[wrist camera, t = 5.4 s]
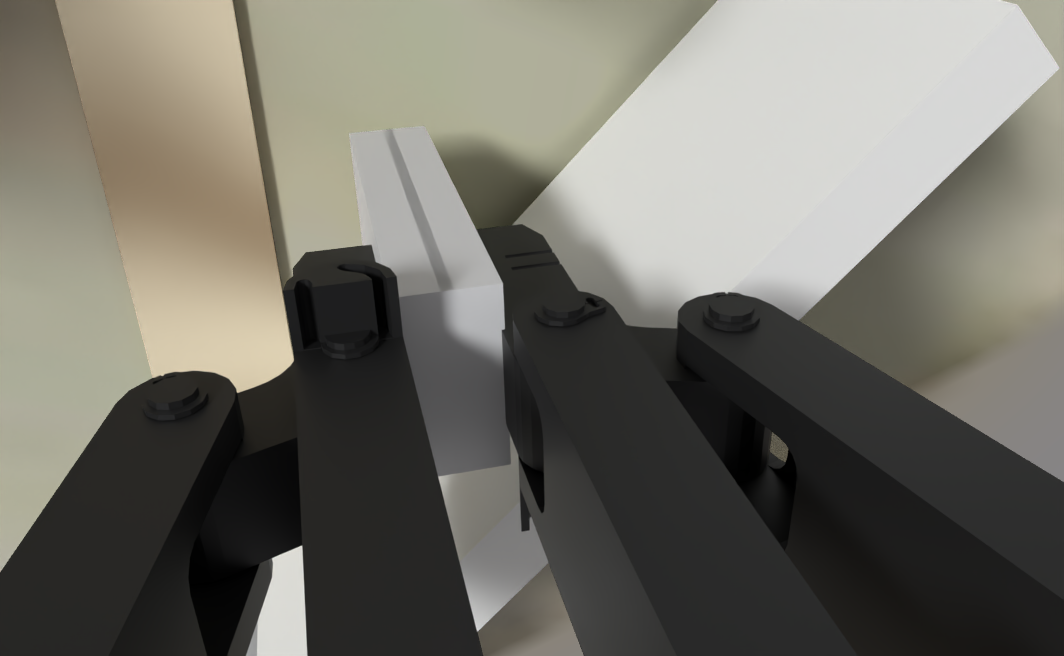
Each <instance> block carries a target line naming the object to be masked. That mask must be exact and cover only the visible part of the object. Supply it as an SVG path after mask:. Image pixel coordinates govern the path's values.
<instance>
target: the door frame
mask: <svg viewBox="0 0 1064 656" xmlns="http://www.w3.org/2000/svg"><path fill="white" fill-rule="evenodd" d="M55 2H56V6H57V10H58V14H59V17H60V21H61V25H62V29H63V33H64V37H65V41H66V44H67V48H68V52H69V56H70V60H71V64H72V68H73V71H74V75H75V79H76V83H77V87H78V91H79V95H80V99H81V102H82V106H83V110H84V114H85V118H86V122H87V126H88V129H89V133H90V137H91V141H92V145H93V149H94V153H95V157H96V160H97V164H98V168H99V172H100V176H101V180H102V184H103V187H104V191H105V195H106V199H107V203H108V207H109V211H110V215H111V218H112V222H113V226H114V230H115V234H116V238H117V242H118V245H119V249H120V253H121V257H122V261H123V265H124V269H125V273H126V276H127V280H128V284H129V288H130V292H131V296H132V300H133V303H134V307H135V311H136V315H137V319H138V323H139V327H140V331H141V334H142V338H143V342H144V346H145V350H146V354H147V358H148V361H149V365H150V369H151V373H152V377H153V378H154V377H157V376H160V375H161V376H164V374H167V373H172V372H186V371H204V372H214V373H217V374H219V375H221V376H224V377H226V378H229V379H230V381H231V382H232V384H233V385H234V386H235V388H236V390H237V393H239V392H242V391H245V390H248V389H251V388H253V387H256V386H258V385H261V384H263V383H266V382H268V381H270V380H272V379H273V378H275V377H277V376H278V375H280V374H282V373H283V372H284V371H285V370H286V369H287V368H288V367H290V366H291V364H292V363H293V361H294V356H293V350H292V344H291V338H290V333H289V327H288V321H287V315H286V309H285V303H284V297H283V291H282V286H281V280H280V274H279V268H278V262H277V256H276V250H275V245H274V239H273V233H272V227H271V221H270V215H269V209H268V204H267V198H266V192H265V186H264V180H263V174H262V168H261V162H260V157H259V151H258V145H257V139H256V133H255V127H254V121H253V116H252V110H251V104H250V98H249V92H248V86H247V80H246V75H245V69H244V63H243V57H242V51H241V45H240V39H239V33H238V28H237V22H236V16H235V10H234V4H233V0H55Z"/></svg>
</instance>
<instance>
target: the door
mask: <svg viewBox="0 0 1064 656" xmlns="http://www.w3.org/2000/svg"><path fill="white" fill-rule="evenodd" d="M1058 69H1059V66H1058V65H1057V63H1056V62H1055V60H1054V59H1053V57H1052V56H1051V54H1050V53H1049V51H1048V50H1047V48H1046V47H1045V45H1044V44H1043V42H1042V41H1041V39H1040V38H1039V36H1038V35H1037V33H1036V32H1035V30H1034V29H1033V27H1032V26H1031V24H1030V23H1029V21H1028V20H1027V18H1026V17H1025V15H1024V14H1023V12H1022V11H1021V9H1020V8H1019V6H1018V5H1016V4H1012V3H1009V2H1005V1H1002V0H718V1H717V2H716V3H715V4H714V5H713V6H712V7H711V8H710V9H709V10H708V12H707V13H706V14H705V15H704V16H703V17H702V18H701V19H700V20H699V21H698V22H697V24H696V25H695V26H694V27H693V28H692V29H691V30H690V31H689V32H688V33H687V34H686V36H685V37H684V38H683V39H682V40H681V41H680V42H679V43H678V44H677V45H676V46H675V48H674V49H673V50H672V51H671V52H670V53H669V54H668V55H667V56H666V57H665V58H664V60H663V61H662V62H661V63H660V64H659V65H658V66H657V67H656V68H655V69H654V70H653V72H652V73H651V74H650V75H649V76H648V77H647V78H646V79H645V80H644V81H643V83H642V84H641V85H640V86H639V87H638V88H637V89H636V90H635V91H634V92H633V93H632V95H631V96H630V97H629V98H628V99H627V100H626V101H625V102H624V103H623V104H622V105H621V107H620V108H619V109H618V110H617V111H616V112H615V113H614V114H613V115H612V116H611V117H610V119H609V120H608V121H607V122H606V123H605V124H604V125H603V126H602V127H601V128H600V129H599V131H598V132H597V133H596V134H595V135H594V136H593V137H592V138H591V139H590V140H589V142H588V143H587V144H586V145H585V146H584V147H583V148H582V149H581V150H580V151H579V152H578V154H577V155H576V156H575V157H574V158H573V159H572V160H571V161H570V162H569V163H568V164H567V166H566V167H565V168H564V169H563V170H562V171H561V172H560V173H559V174H558V175H557V176H556V178H555V179H554V180H553V181H552V182H551V183H550V184H549V185H548V186H547V187H546V188H545V190H544V191H543V192H542V193H541V194H540V195H539V196H538V197H537V198H536V199H535V201H534V202H533V203H532V204H531V205H530V206H529V207H528V208H527V209H526V210H525V211H524V213H523V214H522V215H521V216H520V217H519V218H518V219H517V220H516V221H515V222H514V223H513V225H518V224H523V225H525V226H526V227H528V228H530V229H532V230H534V231H536V232H538V233H540V234H541V235H543V236H544V238H545V239H546V241H547V243H548V244H549V246H550V247H551V249H552V253H553V252H554V253H555V255H556V257H557V258H558V260H559V261H560V264H562V266H563V267H564V269H565V270H566V272H567V274H568V275H569V277H570V278H571V280H572V281H573V283H574V284H575V286H576V288H577V289H578V291H581V292H588V293H591V294H594V295H596V296H599V297H602V298H604V299H605V300H606V301H607V302H609V303H610V304H611V305H612V306H613V307H614V308H615V310H616V311H617V312H618V314H619V315H620V317H621V318H622V320H623V321H624V322H625V324H626V325H629V326H637V327H651V328H677V319H678V310H679V309H680V308H681V307H682V306H683V304H684V303H685V302H687V301H689V300H692V299H694V298H696V297H698V296H703V295H709V294H713V293H716V292H725V293H727V294H728V292H734V293H740V294H742V295H745V296H750V297H755V298H758V299H760V300H763V301H765V302H767V303H770V304H772V305H774V306H775V307H777V308H778V309H780V310H782V311H783V312H785V313H787V314H788V315H790V316H792V317H793V318H795V319H797V320H798V321H799V320H800V319H801V318H802V317H803V316H804V315H805V314H806V313H807V312H808V311H809V310H810V309H811V308H812V307H813V306H814V305H815V304H816V303H817V302H818V301H819V300H821V299H822V298H823V297H824V296H825V295H826V294H827V293H828V292H829V291H830V290H831V289H832V288H833V287H834V286H835V285H836V284H837V283H838V282H839V281H840V280H841V279H842V278H843V277H844V276H845V275H846V274H847V273H848V272H849V271H850V270H852V269H853V268H854V267H855V266H856V265H857V264H858V263H859V262H860V261H861V260H862V259H863V258H864V257H865V256H866V255H867V254H868V253H869V252H870V251H871V250H872V249H873V248H874V247H875V246H876V245H877V244H878V243H879V242H880V241H881V240H882V239H884V238H885V237H886V236H887V235H888V234H889V233H890V232H891V231H892V230H893V229H894V228H895V227H896V226H897V225H898V224H899V223H900V222H901V221H902V220H903V219H904V218H905V217H906V216H907V215H908V214H909V213H910V212H911V211H912V210H913V209H915V208H916V207H917V206H918V205H919V204H920V203H921V202H922V201H923V200H924V199H925V198H926V197H927V196H928V195H929V194H930V193H931V192H932V191H933V190H934V189H935V188H936V187H937V186H938V185H939V184H940V183H941V182H942V181H943V180H944V179H946V178H947V177H948V176H949V175H950V174H951V173H952V172H953V171H954V170H955V169H956V168H957V167H958V166H959V165H960V164H961V163H962V162H963V161H964V160H965V159H966V158H967V157H968V156H969V155H970V154H971V153H972V152H973V151H974V150H975V149H976V148H978V147H979V146H980V145H981V144H982V143H983V142H984V141H985V140H986V139H987V138H988V137H989V136H990V135H991V134H992V133H993V132H994V131H995V130H996V129H997V128H998V127H999V126H1000V125H1001V124H1002V123H1003V122H1004V121H1005V120H1006V119H1007V118H1009V117H1010V116H1011V115H1012V114H1013V113H1014V112H1015V111H1016V110H1017V109H1018V108H1019V107H1020V106H1021V105H1022V104H1023V103H1024V102H1025V101H1026V100H1027V99H1028V98H1029V97H1030V96H1031V95H1032V94H1033V93H1034V92H1035V91H1036V90H1037V89H1038V88H1039V87H1041V86H1042V85H1043V84H1044V83H1045V82H1046V81H1047V80H1048V79H1049V78H1050V77H1051V76H1052V75H1053V74H1054V73H1055V72H1056V71H1057V70H1058ZM510 453H511V464H510V465H504V466H498V467H492V468H487V469H481V470H475V471H469V472H463V473H457V474H451V475H445V476H439V477H438V478H439V482H440V486H441V490H442V494H443V498H444V502H445V506H446V510H447V514H448V518H449V522H450V526H451V530H452V534H453V538H454V542H455V546H456V550H457V554H458V558H459V562H460V565H461V569H462V573H463V577H464V581H465V585H466V589H467V593H468V597H469V601H470V605H471V609H472V613H473V617H474V621H475V625H476V629H477V632H478V631H479V630H480V629H481V628H482V627H483V626H484V625H485V624H486V623H487V622H488V621H489V620H490V619H491V618H492V617H493V616H494V615H495V614H496V613H497V612H498V611H499V610H500V609H501V608H502V607H503V606H504V605H506V604H507V603H508V602H509V601H510V600H511V599H512V598H513V597H514V596H515V595H516V594H517V593H518V592H519V591H520V590H521V589H522V588H523V587H524V586H525V585H526V584H527V583H528V582H529V581H530V580H531V579H532V578H533V577H534V576H535V575H536V574H538V573H539V572H540V571H541V570H542V569H543V568H544V567H545V566H546V565H547V564H548V563H549V562H548V560H547V557H546V554H545V552H544V549H543V546H542V544H541V541H540V539H539V536H538V533H537V531H536V528H535V525H534V523H533V520H532V517H530V530H529V531H523V532H521V512H520V487H519V461H518V453H517V451H516V448H515V446H514V443H513V440H512V438H511V435H510ZM272 561H273V572H272V579H271V582H270V585H269V588H268V591H267V594H266V597H265V600H264V603H263V606H262V609H261V612H260V615H259V618H258V621H257V624H256V627H255V630H254V633H253V636H252V639H251V642H250V645H249V648H248V651H247V654H246V656H307V639H306V616H305V594H304V572H303V550H302V546H300V547H297V548H295V549H293V550H290V551H288V552H286V553H283V554H281V555H278V556H276V557H274V558H272Z"/></svg>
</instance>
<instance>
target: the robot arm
mask: <svg viewBox="0 0 1064 656" xmlns="http://www.w3.org/2000/svg"><path fill="white" fill-rule="evenodd" d="M349 138H350V146H351V154H352V162H353V170H354V178H355V186H356V195H357V203H358V211H359V219H360V227H361V235H362V244H363V246H356V247H347V248H339V249H331V250H322V251H314V252H306V253H305V254H304V255H303V257H302V258H301V259H300V260H299V262H298V263H297V264H296V265H295V266H294V268H293V277H292V278H290V279H289V280H288V281H287V282H286V285H285V287H284V290H283V293H284V299H285V305H286V311H287V317H288V323H289V328H290V334H291V340H292V346H293V352H294V361H293V363H292V364H291V366H290V367H288V368H287V369H286V370H285V371H284V372H283V373H282V374H280V375H278V376H277V377H275V378H273V379H272V380H270V381H268V382H266V383H263V384H261V385H258V386H256V387H253V388H251V389H248V390H245V391H242V392H239V393H237V390H236V388H235V386H234V385H233V384H232V382H231V381H230V379H229V378H226V377H224V376H221V375H219V374H217V373H214V372H204V371H186V372H172V373H167V374H164V376H161V375H160V376H157V377H154V378H152V379H150V380H148V381H146V382H144V383H142V384H141V385H139V386H137V387H135V388H133V389H131V390H129V391H128V392H127V393H126V394H125V395H124V396H123V397H122V398H121V399H120V400H119V401H118V402H117V403H116V404H115V406H114V407H113V409H112V410H111V412H110V413H109V415H108V416H107V418H106V419H105V420H104V422H103V423H102V425H101V426H100V428H99V429H98V431H97V432H96V434H95V435H94V436H93V438H92V439H91V441H90V442H89V444H88V445H87V447H86V448H85V450H84V451H83V453H82V454H81V455H80V457H79V458H78V460H77V461H76V463H75V464H74V466H73V467H72V469H71V470H70V471H69V473H68V474H67V476H66V477H65V479H64V480H63V482H62V483H61V485H60V486H59V488H58V489H57V490H56V492H55V493H54V495H53V496H52V498H51V499H50V501H49V502H48V504H47V505H46V506H45V508H44V509H43V511H42V512H41V514H40V515H39V517H38V518H37V520H36V521H35V523H34V524H33V525H32V527H31V528H30V530H29V531H28V533H27V534H26V536H25V537H24V539H23V540H22V541H21V543H20V544H19V546H18V547H17V549H16V550H15V552H14V553H13V555H12V556H11V558H10V559H9V560H8V562H7V563H6V565H5V566H4V568H3V569H2V571H1V572H0V656H246V654H247V651H248V648H249V645H250V642H251V639H252V636H253V633H254V630H255V627H256V624H257V621H258V618H259V615H260V612H261V609H262V606H263V603H264V600H265V597H266V594H267V591H268V588H269V585H270V582H271V579H272V572H273V561H272V558H274V557H276V556H278V555H281V554H283V553H286V552H288V551H290V550H293V549H295V548H297V547H300V546H302V550H303V572H304V594H305V616H306V639H307V656H483V653H482V649H481V645H480V641H479V637H478V633H477V629H476V625H475V621H474V617H473V613H472V609H471V605H470V601H469V597H468V593H467V589H466V585H465V581H464V577H463V573H462V569H461V565H460V562H459V558H458V554H457V550H456V546H455V542H454V538H453V534H452V530H451V526H450V522H449V518H448V514H447V510H446V506H445V502H444V498H443V494H442V490H441V486H440V482H439V478H438V477H439V476H445V475H451V474H457V473H463V472H469V471H475V470H481V469H487V468H492V467H498V466H504V465H510V464H511V453H510V435H511V438H512V440H513V443H514V446H515V448H516V451H517V453H518V461H519V487H520V512H521V532H523V531H529V530H530V517H532V520H533V523H534V525H535V528H536V531H537V533H538V536H539V539H540V541H541V544H542V546H543V549H544V552H545V554H546V557H547V560H548V562H549V565H550V568H551V570H552V573H553V575H554V578H555V581H556V583H557V586H558V589H559V591H560V594H561V597H562V599H563V602H564V604H565V607H566V610H567V612H568V615H569V618H570V620H571V623H572V626H573V628H574V631H575V633H576V636H577V638H578V641H579V644H580V647H581V649H582V652H583V654H584V656H1064V482H1062V481H1061V480H1059V479H1057V478H1056V477H1054V476H1053V475H1051V474H1049V473H1047V472H1046V471H1044V470H1043V469H1041V468H1039V467H1038V466H1036V465H1035V464H1033V463H1031V462H1030V461H1028V460H1026V459H1025V458H1023V457H1021V456H1020V455H1018V454H1016V453H1015V452H1013V451H1012V450H1010V449H1008V448H1007V447H1005V446H1003V445H1002V444H1000V443H998V442H997V441H995V440H993V439H992V438H990V437H989V436H987V435H985V434H984V433H982V432H980V431H979V430H977V429H975V428H974V427H972V426H970V425H969V424H967V423H966V422H964V421H962V420H960V419H959V418H957V417H955V416H954V415H952V414H951V413H949V412H947V411H946V410H944V409H943V408H941V407H939V406H938V405H936V404H934V403H933V402H931V401H929V400H928V399H926V398H925V397H923V396H921V395H920V394H918V393H916V392H915V391H913V390H911V389H910V388H908V387H907V386H905V385H903V384H902V383H900V382H898V381H897V380H895V379H893V378H892V377H890V376H888V375H887V374H885V373H884V372H882V371H880V370H879V369H877V368H875V367H874V366H872V365H870V364H869V363H867V362H865V361H864V360H862V359H861V358H859V357H857V356H856V355H854V354H852V353H851V352H849V351H847V350H846V349H844V348H842V347H841V346H839V345H838V344H836V343H834V342H833V341H831V340H829V339H828V338H826V337H824V336H823V335H821V334H820V333H818V332H816V331H815V330H813V329H811V328H810V327H808V326H806V325H805V324H803V323H801V322H800V321H798V320H797V319H795V318H793V317H792V316H790V315H788V314H787V313H785V312H783V311H782V310H780V309H778V308H777V307H775V306H774V305H772V304H770V303H767V302H765V301H763V300H760V299H758V298H755V297H750V296H745V295H742V294H740V293H734V292H728V294H727V293H725V292H716V293H713V294H709V295H703V296H698V297H696V298H694V299H692V300H689V301H687V302H685V303H684V304H683V306H682V307H681V308H680V309H679V310H678V319H677V328H651V327H637V326H629V325H626V324H625V322H624V321H623V320H622V318H621V317H620V315H619V314H618V312H617V311H616V310H615V308H614V307H613V306H612V305H611V304H610V303H609V302H607V301H606V300H605V299H604V298H602V297H599V296H596V295H594V294H591V293H588V292H581V291H578V289H577V288H576V286H575V284H574V283H573V281H572V280H571V278H570V277H569V275H568V274H567V272H566V270H565V269H564V267H563V266H562V264H560V261H559V260H558V258H557V257H556V255H555V253H554V252H553V253H552V249H551V247H550V246H549V244H548V243H547V241H546V239H545V238H544V236H543V235H541V234H540V233H538V232H536V231H534V230H532V229H530V228H528V227H526V226H525V225H523V224H518V225H510V226H502V227H494V228H485V229H477V230H476V228H475V226H474V224H473V222H472V220H471V218H470V216H469V214H468V212H467V210H466V208H465V206H464V204H463V202H462V200H461V198H460V196H459V194H458V192H457V190H456V188H455V186H454V184H453V182H452V180H451V178H450V176H449V174H448V172H447V170H446V168H445V166H444V164H443V162H442V160H441V158H440V156H439V154H438V152H437V150H436V148H435V146H434V144H433V142H432V140H431V138H430V136H429V134H428V132H427V130H426V128H425V126H418V127H408V128H397V129H386V130H376V131H366V132H356V133H349ZM772 432H773V433H774V434H776V435H777V436H778V437H779V438H780V439H781V440H782V441H783V442H784V443H785V444H786V445H787V447H788V448H789V450H788V457H787V460H786V463H785V462H783V461H781V460H780V459H778V458H777V457H776V456H774V455H773V454H772V453H771V452H770V444H771V436H772Z"/></svg>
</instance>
